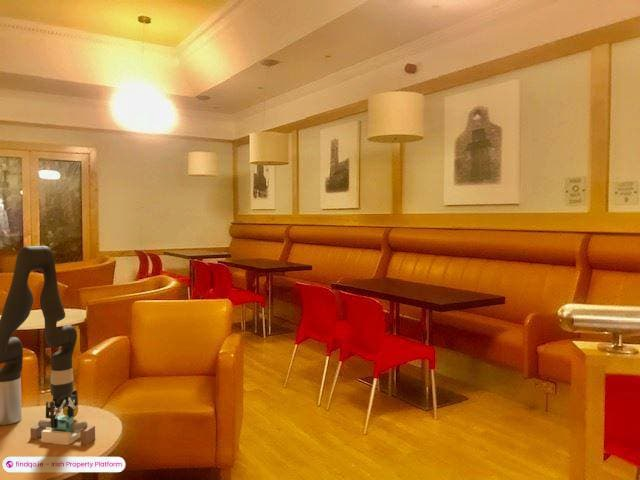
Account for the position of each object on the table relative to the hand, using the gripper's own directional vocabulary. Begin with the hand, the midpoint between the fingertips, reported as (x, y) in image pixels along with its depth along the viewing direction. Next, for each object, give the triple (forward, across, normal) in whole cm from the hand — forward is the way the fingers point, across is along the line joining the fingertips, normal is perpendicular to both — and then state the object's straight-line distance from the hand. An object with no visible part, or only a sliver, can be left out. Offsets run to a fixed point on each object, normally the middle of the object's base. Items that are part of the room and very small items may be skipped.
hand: (62, 423), depth 194 cm
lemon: (+6, -16, -9) cm, 19 cm away
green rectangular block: (+4, 0, 0) cm, 4 cm away
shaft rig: (+6, 0, 0) cm, 6 cm away
